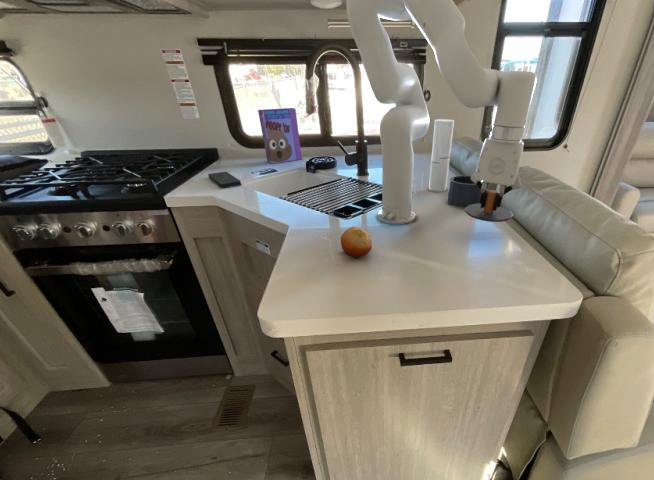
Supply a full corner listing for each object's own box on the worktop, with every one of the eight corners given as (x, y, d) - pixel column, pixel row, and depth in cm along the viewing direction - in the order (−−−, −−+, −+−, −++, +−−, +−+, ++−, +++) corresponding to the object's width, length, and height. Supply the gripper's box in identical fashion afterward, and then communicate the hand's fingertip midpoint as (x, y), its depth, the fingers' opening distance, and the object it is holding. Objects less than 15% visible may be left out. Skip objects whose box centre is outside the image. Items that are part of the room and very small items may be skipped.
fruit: (350, 238, 90) (360, 218, 84) (369, 258, 89) (380, 240, 82) (329, 248, 85) (338, 227, 78) (348, 270, 83) (359, 250, 77)
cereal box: (271, 164, 166) (261, 110, 152) (267, 162, 169) (257, 109, 155) (301, 159, 176) (295, 108, 162) (297, 157, 179) (291, 107, 165)
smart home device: (226, 170, 147) (241, 180, 134) (227, 174, 148) (242, 184, 135) (206, 173, 143) (220, 184, 130) (208, 177, 144) (221, 188, 131)
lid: (505, 227, 83) (512, 202, 79) (458, 217, 88) (462, 193, 84) (515, 212, 92) (521, 189, 88) (472, 204, 97) (476, 181, 93)
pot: (474, 211, 113) (479, 186, 108) (443, 205, 117) (445, 181, 112) (483, 201, 121) (487, 178, 116) (453, 196, 125) (456, 174, 120)
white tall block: (447, 191, 130) (455, 121, 116) (429, 191, 131) (435, 121, 116) (444, 186, 136) (452, 119, 122) (427, 186, 136) (433, 119, 122)
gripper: (468, 132, 78) (456, 206, 89) (539, 140, 72) (517, 218, 83) (477, 128, 84) (464, 198, 95) (543, 135, 78) (522, 209, 88)
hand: (489, 207), depth 89 cm, fingers closed on lid, 2 cm apart
